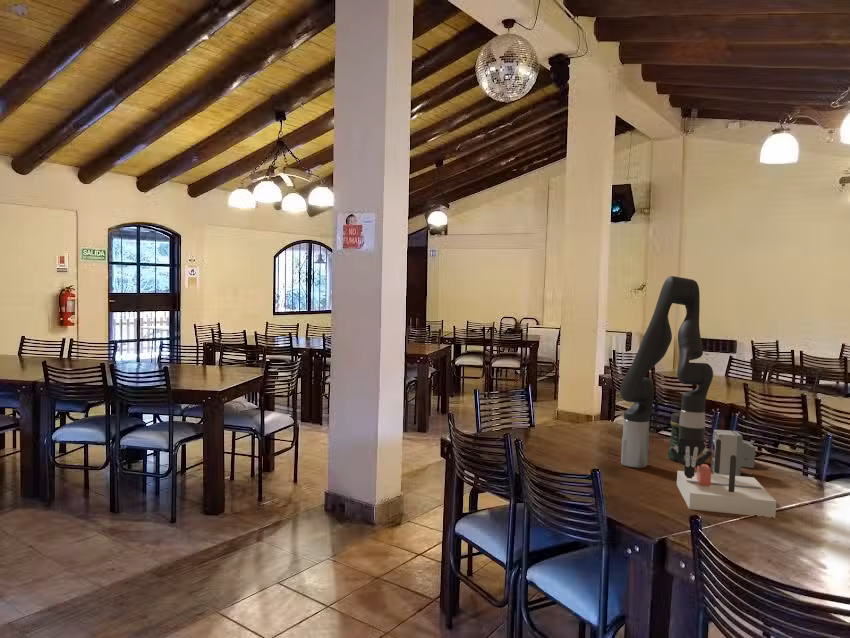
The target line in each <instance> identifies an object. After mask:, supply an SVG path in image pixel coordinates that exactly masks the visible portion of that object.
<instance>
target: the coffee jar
mask: <svg viewBox="0 0 850 638" xmlns="http://www.w3.org/2000/svg"><path fill="white" fill-rule="evenodd" d="M680 413H681V412H677V413H676V412H672V414H671V418H670V426H671V432H670V433H671V434H670V440H669V441H670V442H669V447H668V452H667V453H668V454H667V457H668V458H669V459H670V460H671V461H675V462H678V463H679V461H678V460H677V458H676V457H675V456H674V454H673V453H672V452H671V450H670V447H673V446H675V445H677V441H678V439H679V420H680ZM678 454H679V456H680V457H681V458H682V460H684V454H683V453H682V452H681V450H680V449H679V448H678ZM690 460H691V456H690Z"/></svg>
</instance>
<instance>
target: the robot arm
mask: <svg viewBox="0 0 850 638" xmlns="http://www.w3.org/2000/svg"><path fill="white" fill-rule="evenodd" d="M662 284H663V285H662V286H661V290H660V293H659V296H658V299H657V302H656V306H655V308H654V311H653V314H652V317H651V319H650V322H649V324H648V327H647V328H646V330H645V333H644V335H643V338H642V340H641V342H640V345H639V348H638V350H637V353H636V354H635V357H634V358H633V361H632V363H631V365H630V366H629V368H628V370H627V372H626V374H625V376H624V377H623V379H622V382H621V385H620V389H619V390H620V391H619V392H620V397H621V399H622V400H623V401H625V402H628V403H633V404H632V405H631V406H630V407H629V408H627V409H625V410H624V411H623V412H624V413H623V421H622V422H623V423H622V424H623V426H622V437H621V452H620V453H621V454H620V463H621V465H622V466H624V467H629V468H636V469H639V468H646V467H648V456H649V455H648V454H649V453H648V451H649V434H650V419H651V418H650V417H651V416H652V413H653V406H654V405H653V404H654V395H655V394H654V393H655V391H654V390H655V389H654V388H655V387H654V384H653V381H652V380H651V379H650V378H649V377H646V375H647V374H648V372H650V371H651V369H652V368H654V367H655V366H657V364H658V363H659V362H660V361H661V360H662V359H663V358H665V355H666V353H667V352H668V349H669V347H670V345H671V342H672V340H673V333H672V328H671V325H670V320H669V312H670V309H671V307H672V305H673V304H674V305H682V306H685V311H686V312H685V314H686V315H685V316H684V319H683V321H682V323H681V325H680V326H679V328H678V332H677V342H678V343H677V344H678V350H679V360H678V366H677V371H676V377H677V379H678V381H679V382H680V383H681V384H683V385H690V386H694V385H695V386H696V388H695V389H693V390H689V391H685V392H683V393H682V396H681V405H680V412H679V413H680V420H679V439H678V441H677V445H675V446H673V447H670V450H671V452H672V453H673V454H674V456H675V457H676V458H677V460H678V461H679V462H678V461H677V462H678V463H679V465H683V466H684V469H683V471H684V474H685V476H686V477H687V478H691V479H692V477H694V472H696V470H695V468H697V466H701V465H702V464H704V463H705V462H706V461H707V460H708V459H709V458H710V457H712V455H713V453H712V451H711V450H710V449H708V448H707V446H706V444H705V429H706V428H705V427H706V399H707V395H708V393H709V388H710V387H711V384H712V382H713V377H714V370H713V368H712V366H711V365H710V364H709V363H705V362H690V361H693V360H694V361H695V360H697V359H700V358H701V357H702V356H703V353H704V350H703V342H702V338H701V332H700V331H701V329H700V310H701V308H700V302H701V301H700V298H701V297H700V296H701V295H700V287H699V284H698V281H696V280H695V279H691V278H685V277H680V276H676V275H675V276H673V275H671V276H668V277H667V278H665V280H664V282H663V283H662ZM678 448H679V449H680V450H681V452H682V453H683V454H684V460H682V458H681V457H680V456H679V454H678ZM699 455H700V457H699V458H698V456H699ZM690 456H691V460H690Z"/></svg>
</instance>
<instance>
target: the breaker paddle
mask: <svg viewBox="0 0 850 638" xmlns="http://www.w3.org/2000/svg"><path fill="white" fill-rule="evenodd" d="M696 472H697V480H698V482H699V483H700V485H710V483H711V474H712V470H711V466H709V465H708V464H706V463H705V464H704V463H703V464H702V465H701V466H696Z"/></svg>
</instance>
